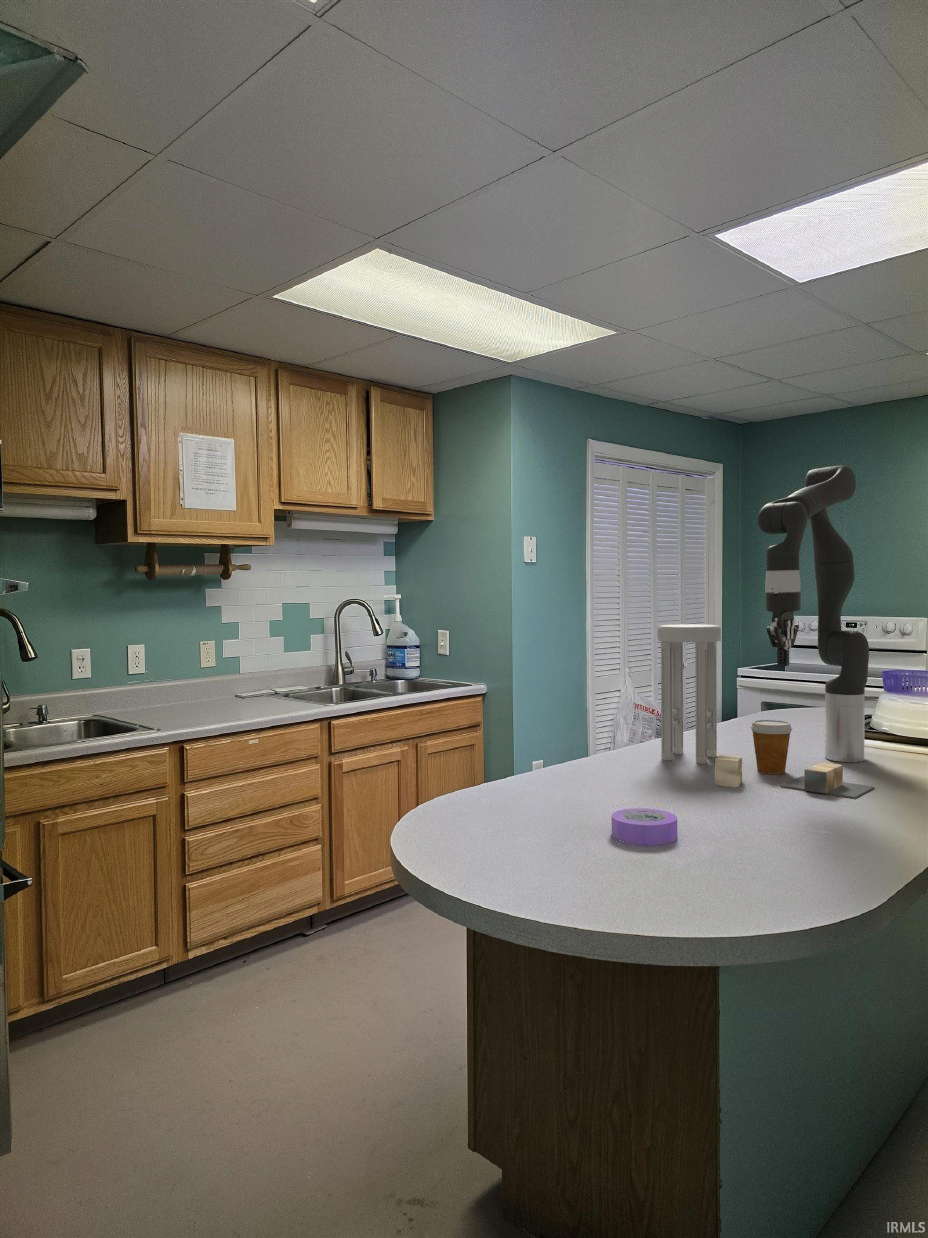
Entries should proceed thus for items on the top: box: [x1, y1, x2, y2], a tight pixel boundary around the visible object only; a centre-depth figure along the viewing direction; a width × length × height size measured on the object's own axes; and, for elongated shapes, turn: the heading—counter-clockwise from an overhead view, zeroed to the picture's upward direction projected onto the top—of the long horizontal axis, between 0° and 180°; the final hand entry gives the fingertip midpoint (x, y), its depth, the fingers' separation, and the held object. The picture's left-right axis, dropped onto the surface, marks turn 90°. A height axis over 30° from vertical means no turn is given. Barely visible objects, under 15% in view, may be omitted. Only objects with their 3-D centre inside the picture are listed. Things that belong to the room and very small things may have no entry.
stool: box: [657, 623, 722, 765], centre depth 215 cm, size 16×16×35 cm
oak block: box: [803, 761, 844, 794], centre depth 180 cm, size 4×4×10 cm
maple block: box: [714, 754, 743, 788], centre depth 187 cm, size 5×5×6 cm
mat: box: [779, 775, 875, 800], centre depth 182 cm, size 12×16×1 cm
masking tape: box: [611, 807, 678, 846], centre depth 148 cm, size 12×12×4 cm
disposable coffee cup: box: [750, 719, 793, 775], centre depth 198 cm, size 10×10×12 cm
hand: (783, 666), depth 187 cm, fingers closed
